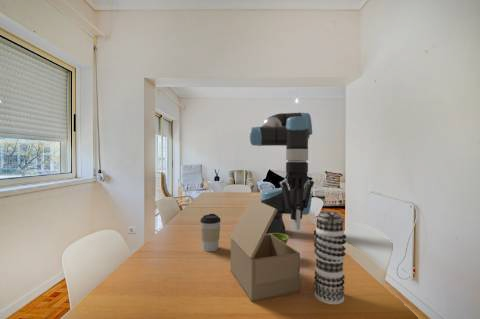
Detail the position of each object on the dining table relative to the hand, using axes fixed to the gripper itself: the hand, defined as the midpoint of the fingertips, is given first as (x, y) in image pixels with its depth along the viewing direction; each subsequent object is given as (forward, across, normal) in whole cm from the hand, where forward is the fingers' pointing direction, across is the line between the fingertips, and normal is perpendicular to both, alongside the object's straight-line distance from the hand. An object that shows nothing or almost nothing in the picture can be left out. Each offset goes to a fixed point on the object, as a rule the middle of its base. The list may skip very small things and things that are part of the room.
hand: (296, 228), depth 89 cm
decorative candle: (+17, -2, +15) cm, 22 cm away
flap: (-3, +17, 0) cm, 17 cm away
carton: (+16, +13, 0) cm, 21 cm away
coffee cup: (+17, +23, -34) cm, 44 cm away
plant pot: (+17, -1, -16) cm, 23 cm away
